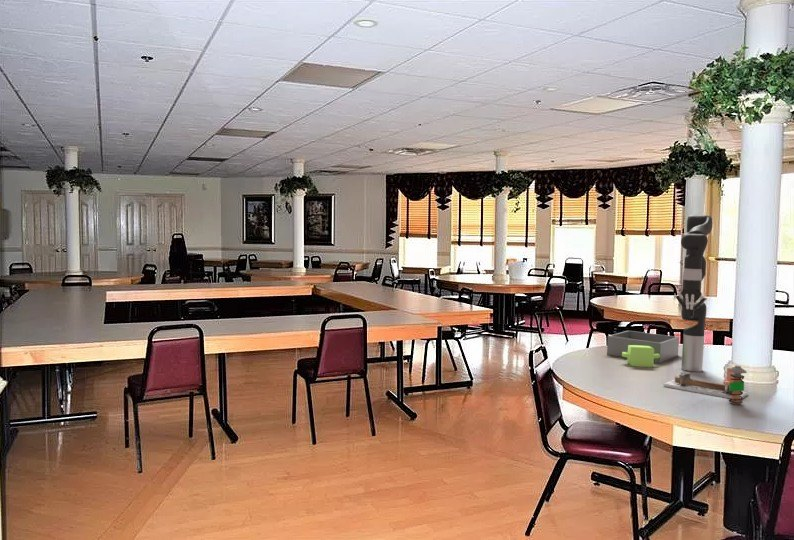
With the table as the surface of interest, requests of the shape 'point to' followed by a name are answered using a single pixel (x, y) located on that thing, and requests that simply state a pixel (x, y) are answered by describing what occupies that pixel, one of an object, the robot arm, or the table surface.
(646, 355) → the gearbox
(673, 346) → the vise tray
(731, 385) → the shock absorber
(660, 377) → the table surface
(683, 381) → the beam
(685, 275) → the robot arm
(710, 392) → the hole plate
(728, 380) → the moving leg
